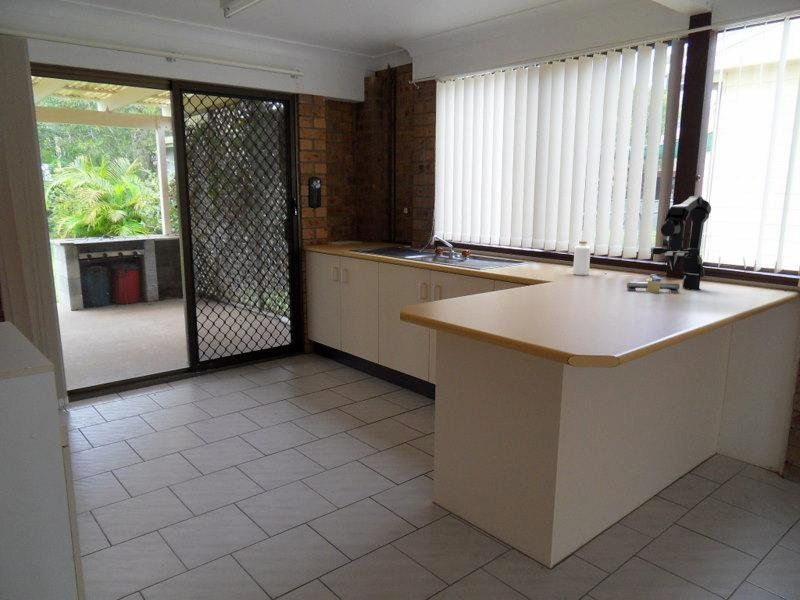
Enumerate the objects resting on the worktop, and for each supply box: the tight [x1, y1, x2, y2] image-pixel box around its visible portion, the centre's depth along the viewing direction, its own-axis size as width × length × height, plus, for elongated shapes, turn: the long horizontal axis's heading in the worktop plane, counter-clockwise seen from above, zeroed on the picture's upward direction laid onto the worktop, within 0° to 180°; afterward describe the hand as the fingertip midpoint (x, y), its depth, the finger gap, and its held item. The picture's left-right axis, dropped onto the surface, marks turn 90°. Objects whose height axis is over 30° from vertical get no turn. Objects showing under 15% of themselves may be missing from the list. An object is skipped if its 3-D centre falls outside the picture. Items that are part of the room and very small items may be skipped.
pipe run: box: [626, 278, 680, 294], centre depth 259 cm, size 22×5×6 cm, turn 76°
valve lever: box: [649, 273, 662, 283], centre depth 254 cm, size 12×3×1 cm, turn 166°
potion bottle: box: [572, 240, 592, 276], centre depth 307 cm, size 8×8×18 cm
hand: (672, 270), depth 248 cm, fingers closed
